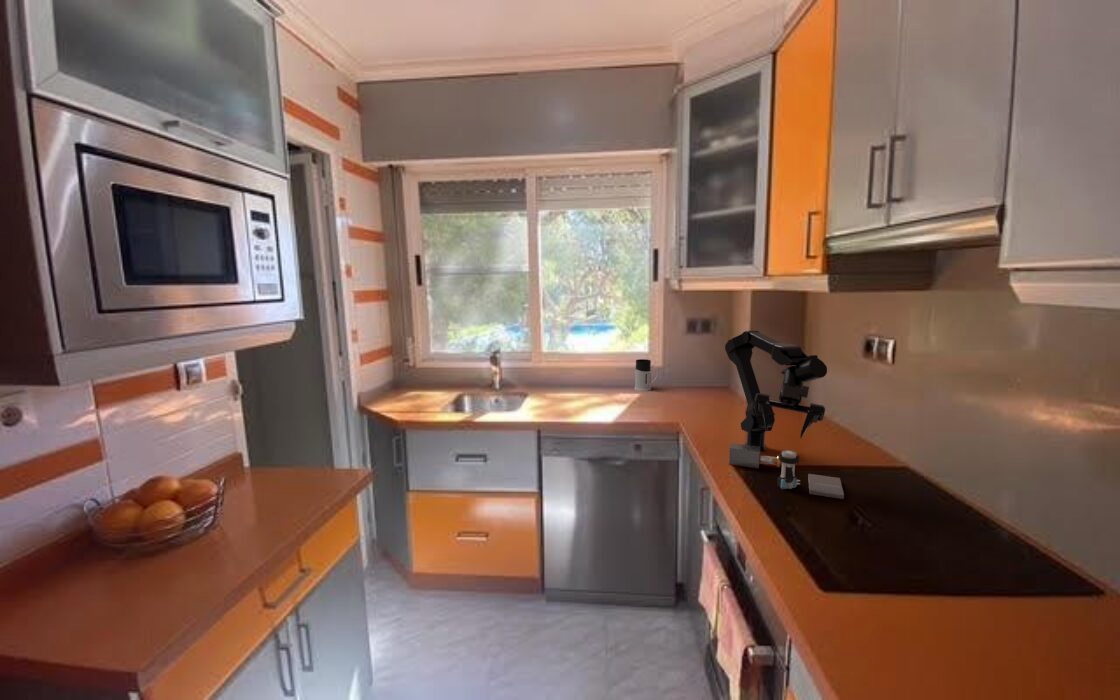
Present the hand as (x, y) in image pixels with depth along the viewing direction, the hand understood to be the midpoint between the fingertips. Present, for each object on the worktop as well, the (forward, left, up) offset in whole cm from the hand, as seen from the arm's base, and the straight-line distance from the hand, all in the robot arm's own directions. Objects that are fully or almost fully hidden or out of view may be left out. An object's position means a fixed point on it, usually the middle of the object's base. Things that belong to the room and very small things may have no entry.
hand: (783, 433), depth 145 cm
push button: (+7, +2, -13) cm, 15 cm away
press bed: (+4, +11, -13) cm, 18 cm away
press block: (-7, -11, -13) cm, 18 cm away
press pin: (-7, -5, -13) cm, 15 cm away
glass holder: (-95, -64, -13) cm, 116 cm away
